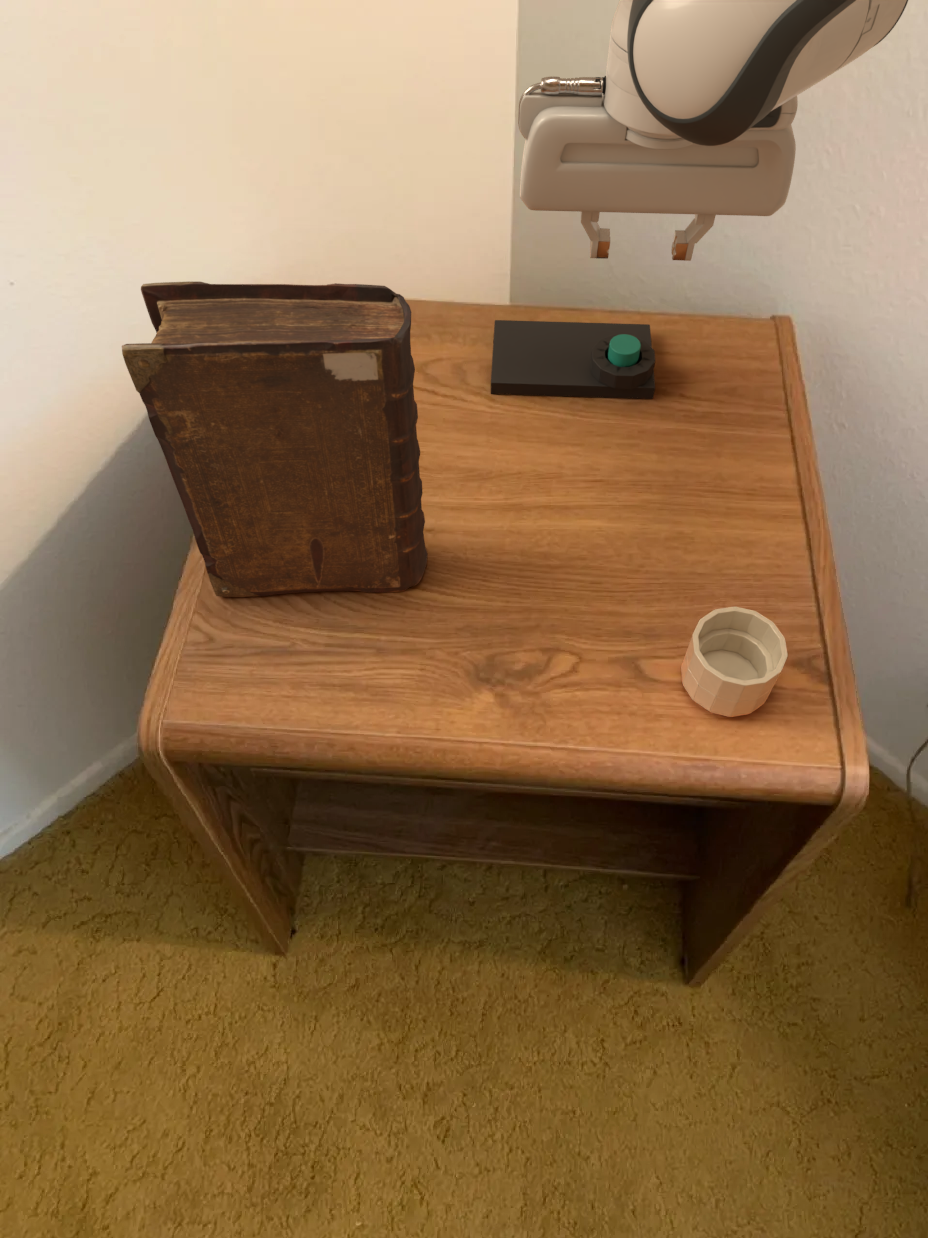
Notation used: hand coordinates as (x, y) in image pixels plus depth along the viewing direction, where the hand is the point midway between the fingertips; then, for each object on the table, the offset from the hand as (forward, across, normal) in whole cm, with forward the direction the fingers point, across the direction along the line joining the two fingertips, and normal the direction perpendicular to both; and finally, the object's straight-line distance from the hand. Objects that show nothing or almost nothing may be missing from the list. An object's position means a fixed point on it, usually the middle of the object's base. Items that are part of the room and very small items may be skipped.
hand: (639, 255), depth 76 cm
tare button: (+10, 0, 0) cm, 10 cm away
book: (+13, -24, -24) cm, 37 cm away
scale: (+13, -4, +2) cm, 14 cm away
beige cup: (+13, +6, -32) cm, 36 cm away
